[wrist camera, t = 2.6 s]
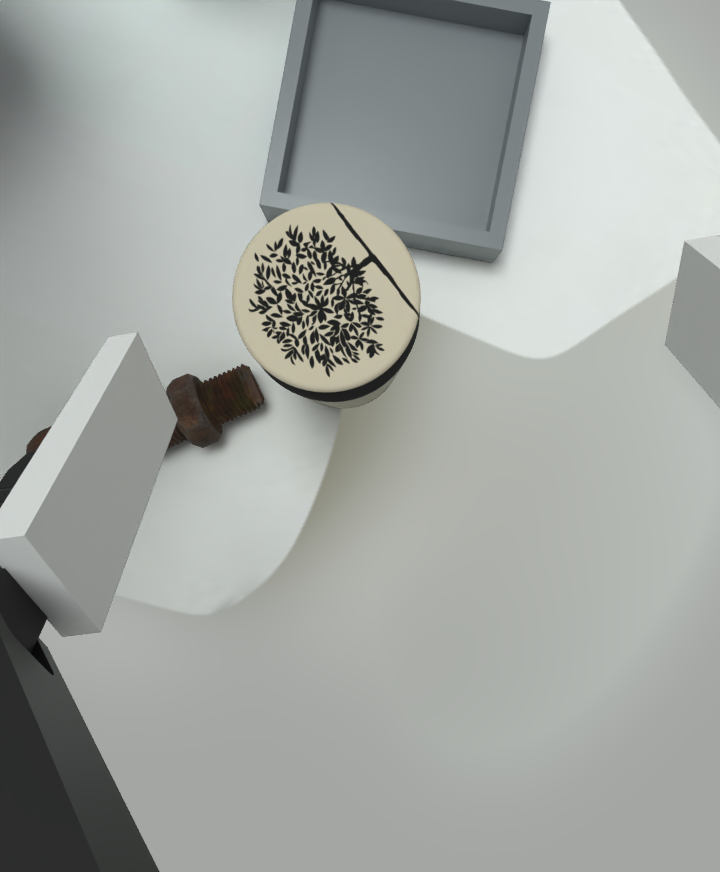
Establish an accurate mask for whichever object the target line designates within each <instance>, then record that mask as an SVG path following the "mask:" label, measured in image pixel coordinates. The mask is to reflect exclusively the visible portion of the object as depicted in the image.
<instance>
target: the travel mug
mask: <svg viewBox="0 0 720 872" xmlns="http://www.w3.org/2000/svg"><path fill="white" fill-rule="evenodd" d="M232 300H233V312H234V317H235V322H236V325H237V328H238V331H239V334H240V336H241V338H242V340H243V342H244V344H245V346H246V348H247V349H248V351H249V352H250V353H251V355H252V356H253V357H254V359H255V360H256V361H257V362H258V363H259V364H260V365H261V367H262V368H263V369H264V371H265V372H266V373H267V374H268V375H269V376H270V377H271V378H272V379H274V380H275V381H276V382H277V383H278V384H280V385H281V386H283V387H284V388H286V389H288V390H290V391H291V392H293V393H296V394H298V395H300V396H303V397H305V398H308V399H311V400H313V401H316V402H318V403H321V404H323V405H327V406H330V407H335V408H352V407H358V406H361V405H364V404H367V403H369V402H370V401H373V400H374V399H376V398H377V397H378V396H380V395H381V394H382V393H383V392H384V391H385V390H386V389H387V388H388V386H389V385H390V384H391V383H392V381H393V379H394V378H395V376H396V375H397V373H398V372H399V370H400V368H401V367H402V365H403V363H404V362H405V360H406V359H407V357H408V355H409V353H410V351H411V349H412V347H413V345H414V342H415V339H416V335H417V331H418V326H419V315H420V301H421V296H420V284H419V278H418V274H417V270H416V267H415V264H414V262H413V259H412V257H411V255H410V253H409V251H408V250H407V248H406V246H405V245H404V243H403V242H402V240H401V239H400V238H399V237H398V236H397V234H396V233H395V232H394V231H393V230H392V229H391V228H390V227H389V226H388V225H386V224H385V223H384V222H383V221H381V220H380V219H378V218H377V217H375V216H374V215H372V214H370V213H368V212H366V211H364V210H361V209H358V208H356V207H352V206H349V205H344V204H338V203H315V204H309V205H304V206H300V207H297V208H294V209H292V210H289V211H287V212H285V213H283V214H281V215H280V216H278V217H276V218H275V219H273V220H272V221H270V222H269V223H268V224H267V225H265V226H264V227H263V228H262V229H261V230H260V231H259V232H258V233H257V234H256V235H255V236H254V238H253V239H252V240H251V242H250V243H249V245H248V246H247V248H246V249H245V251H244V253H243V255H242V257H241V259H240V262H239V264H238V267H237V270H236V274H235V277H234V284H233V294H232Z"/></svg>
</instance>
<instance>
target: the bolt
mask: <svg viewBox="0 0 720 872" xmlns="http://www.w3.org/2000/svg"><path fill="white" fill-rule="evenodd" d="M166 394H167V397H168V399H169V401H170V403H171V406H172V408H173V410H174V412H175V414H176V417H177V419H178V420H177V423H176V425H175V428H174V431H173V434H172V436H171V439H170V442H169V445H168V448H170V446H171V447H172V446H174V445H175V444H179V442H183V441H184V440H189V441H190V442H191V443H192V444H193V445H196V446H199V447H202V448H203V447H206V446H208V445H210V444H212V443H215V442H217V441H218V440H219V438H220V436H221V434H222V424H224V422H229V420H233V417H234V418H237V417H238V416H242V413H243V414H247V411H248V412H251V411H252V410H256V407H257V408H260V406H261V405H262V404H263V403H264V397H263V395H262V393H261V391H260V389H259V386H258V384H257V382H256V380H255V378H254V376H253V374H252V372H251V370H250V367H248V366H245V365H243V364H241V368H240V367H239V366H237V368H236V369H234V368H233V369H232V372H231V371H230V370H228V372H227V373H225V372H223V375H221V374H219V375H218V377H216V376H214V378H213V379H211V378H210V379H209V381H207V380H205V381H204V383H202V382H201V381H200V380H199V379H198V378H197V377H195V376H193V375H190V374H185V375H183V376H181V377H179V378H176V379H174V380H172V382H171V383H170V384H169V386H168V387H167V390H166ZM51 427H52V426H51ZM51 427H49V428H46V429H44V430H42V431H40V432H38V433H37V434H36V435H35V436H34V437H33V438H32V440H31V441H30V442H29V444H28V445H27V449H26V453H30V452H36V451H37V449H38V448H39V446H40V445H41V443H42V441H43V440H44V438H45V437H46V435H47V433H48V432H49V430H50V429H51ZM168 448H167V449H168Z"/></svg>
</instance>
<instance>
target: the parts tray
mask: <svg viewBox="0 0 720 872" xmlns="http://www.w3.org/2000/svg"><path fill="white" fill-rule="evenodd" d="M550 3H551V2H548V1H542V0H297V2H296V7H295V13H294V18H293V24H292V29H291V34H290V40H289V45H288V51H287V56H286V62H285V67H284V72H283V78H282V83H281V89H280V94H279V100H278V105H277V111H276V116H275V121H274V127H273V132H272V138H271V143H270V149H269V154H268V159H267V165H266V170H265V176H264V181H263V187H262V192H261V198H260V203H259V205H260V207H261V209H262V211H263V213H264V215H265V217H266V219H267V220H268V221H272V220H273V219H275V218H276V217H278V216H280V215H281V214H283V213H285V212H287V211H289V210H292V209H294V208H297V207H300V206H304V205H309V204H315V203H338V204H344V205H349V206H352V207H356V208H358V209H361V210H364V211H366V212H368V213H370V214H372V215H374V216H375V217H377V218H378V219H380V220H381V221H383V222H384V223H385V224H386V225H388V226H389V227H390V228H391V229H392V230H393V231H394V232H395V233H396V234H397V236H398V237H399V238H400V239H401V240H402V242H403V243H404V245H405V246H406V247H411V248H416V249H422V250H427V251H432V252H438V253H443V254H448V255H453V256H459V257H464V258H469V259H475V260H480V261H485V262H491V263H492V262H493V261H494V260H495V258H496V257H497V256H498V255H499V253H500V252H501V251H502V248H503V243H504V238H505V232H506V227H507V222H508V217H509V212H510V207H511V202H512V197H513V192H514V187H515V181H516V176H517V171H518V166H519V161H520V156H521V151H522V146H523V141H524V135H525V130H526V125H527V120H528V115H529V110H530V105H531V100H532V95H533V89H534V84H535V79H536V74H537V69H538V64H539V59H540V54H541V49H542V44H543V38H544V33H545V28H546V23H547V18H548V13H549V8H550Z"/></svg>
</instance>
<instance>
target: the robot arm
mask: <svg viewBox="0 0 720 872" xmlns="http://www.w3.org/2000/svg"><path fill="white" fill-rule="evenodd" d="M665 345H666V347H667V348H668V349H669V350H670V351H671V352H672V354H673V355H674V356H675V357H676V358H677V359H678V360H679V362H680V363H681V364H682V365H683V366H684V368H685V369H686V370H687V371H688V372H689V373H690V374H691V376H692V377H693V378H694V379H695V380H696V381H697V382H698V384H699V385H700V386H701V387H702V388H703V389H704V391H705V392H706V393H707V394H708V395H709V396H710V398H711V399H712V400H713V401H714V402H715V403H716V404H717V405H718V407H719V408H720V235H717V236H711V237H705V238H699V239H693V240H687V241H684V246H683V251H682V256H681V261H680V267H679V272H678V277H677V283H676V288H675V294H674V299H673V304H672V309H671V315H670V320H669V325H668V331H667V336H666V341H665ZM177 420H178V419H177V417H176V414H175V412H174V410H173V408H172V406H171V403H170V401H169V399H168V397H167V395H166V393H165V390H164V388H163V386H162V384H161V382H160V379H159V377H158V375H157V373H156V371H155V369H154V366H153V364H152V362H151V360H150V358H149V355H148V353H147V351H146V349H145V347H144V344H143V342H142V340H141V338H140V336H139V334H138V332H135V333H129V334H123V335H117V336H111V337H108V338H107V340H106V341H105V343H104V345H103V346H102V348H101V349H100V351H99V353H98V354H97V356H96V357H95V359H94V360H93V362H92V364H91V365H90V367H89V368H88V370H87V372H86V373H85V375H84V376H83V378H82V380H81V381H80V383H79V384H78V386H77V387H76V389H75V391H74V392H73V394H72V395H71V397H70V399H69V400H68V402H67V403H66V405H65V406H64V408H63V410H62V411H61V413H60V414H59V416H58V418H57V419H56V421H55V422H54V424H53V425H52V427H51V429H50V430H49V432H48V433H47V435H46V437H45V438H44V440H43V441H42V443H41V445H40V446H39V448H38V449H37V451H36V452H30V453H27V454H26V455H25V456H24V457H23V458H21V459H20V460H19V461H18V462H17V463H16V464H15V465H13V466H12V467H11V468H10V469H9V470H8V471H7V473H6V474H5V476H4V477H3V479H2V480H1V482H0V872H159V870H158V868H157V866H156V864H155V862H154V860H153V858H152V856H151V854H150V852H149V850H148V848H147V846H146V844H145V842H144V840H143V838H142V836H141V834H140V832H139V830H138V828H137V826H136V824H135V822H134V820H133V818H132V816H131V814H130V812H129V810H128V808H127V806H126V804H125V802H124V800H123V798H122V796H121V794H120V792H119V790H118V788H117V786H116V784H115V782H114V780H113V778H112V776H111V774H110V772H109V770H108V768H107V766H106V764H105V762H104V760H103V758H102V756H101V754H100V752H99V750H98V748H97V746H96V744H95V742H94V740H93V738H92V736H91V734H90V732H89V730H88V728H87V726H86V724H85V722H84V720H83V718H82V716H81V714H80V712H79V710H78V708H77V706H76V704H75V702H74V700H73V698H72V696H71V694H70V692H69V690H68V688H67V686H66V684H65V682H64V680H63V678H62V676H61V674H60V672H59V670H58V668H57V666H56V664H55V662H54V660H53V658H52V655H51V653H50V651H49V650H48V647H47V646H46V645H45V644H44V643H43V642H42V641H41V640H40V639H39V635H40V633H41V631H42V629H43V626H44V624H45V622H46V620H48V621H49V622H50V623H51V624H52V625H53V627H54V628H55V629H56V630H57V631H58V632H59V634H60V635H61V636H62V637H66V636H74V635H82V634H90V633H97V632H101V630H102V628H103V625H104V622H105V619H106V616H107V614H108V611H109V608H110V605H111V603H112V600H113V597H114V594H115V592H116V589H117V586H118V583H119V581H120V578H121V575H122V572H123V569H124V567H125V564H126V561H127V558H128V556H129V553H130V550H131V547H132V545H133V542H134V539H135V536H136V533H137V531H138V528H139V525H140V522H141V520H142V517H143V514H144V511H145V509H146V506H147V503H148V500H149V497H150V495H151V492H152V489H153V486H154V484H155V481H156V478H157V475H158V472H159V470H160V467H161V464H162V461H163V459H164V456H165V453H166V450H167V448H168V445H169V442H170V439H171V436H172V434H173V431H174V428H175V425H176V423H177Z"/></svg>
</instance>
